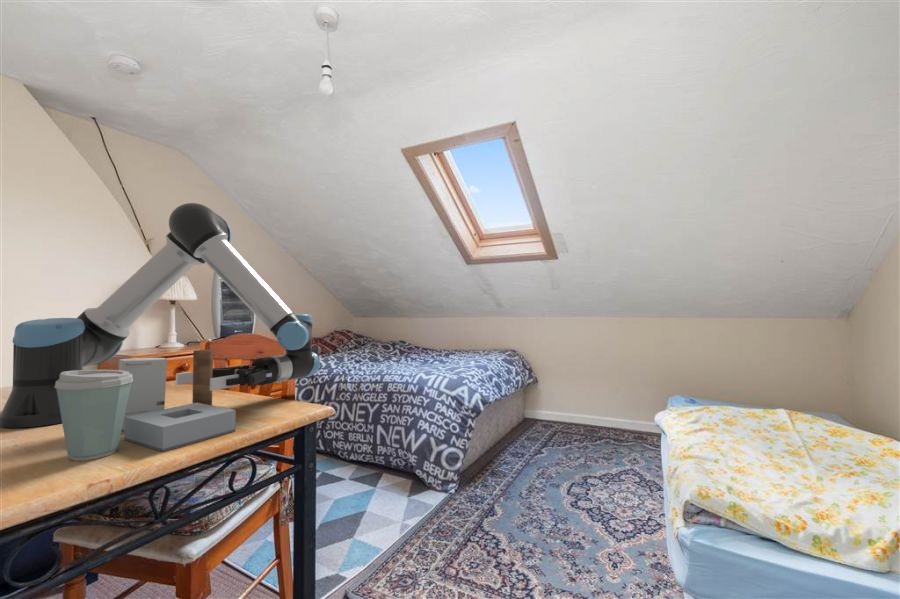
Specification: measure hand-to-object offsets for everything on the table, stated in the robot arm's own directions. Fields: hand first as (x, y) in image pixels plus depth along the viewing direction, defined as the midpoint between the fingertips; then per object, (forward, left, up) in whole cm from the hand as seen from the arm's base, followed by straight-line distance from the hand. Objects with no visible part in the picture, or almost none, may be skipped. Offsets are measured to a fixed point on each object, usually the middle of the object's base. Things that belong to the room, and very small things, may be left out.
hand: (192, 381), depth 94 cm
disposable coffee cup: (+8, -21, -9) cm, 24 cm away
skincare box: (-6, -8, -9) cm, 13 cm away
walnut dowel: (0, +2, -9) cm, 9 cm away
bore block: (+10, -8, -9) cm, 15 cm away
